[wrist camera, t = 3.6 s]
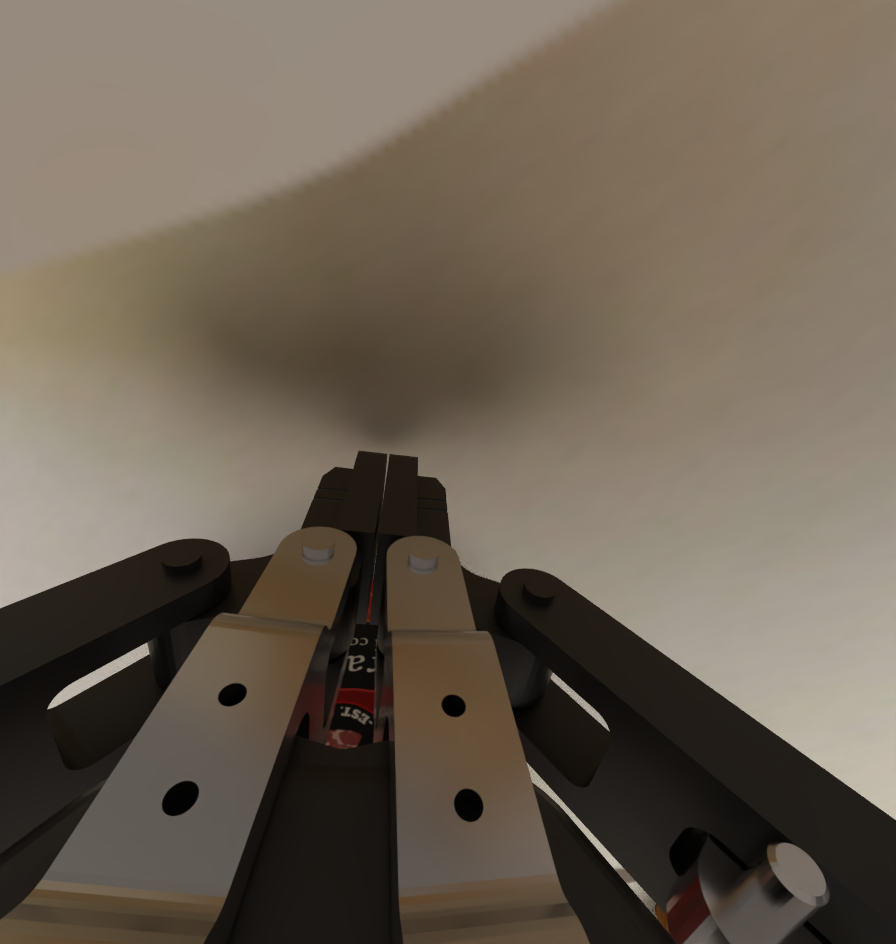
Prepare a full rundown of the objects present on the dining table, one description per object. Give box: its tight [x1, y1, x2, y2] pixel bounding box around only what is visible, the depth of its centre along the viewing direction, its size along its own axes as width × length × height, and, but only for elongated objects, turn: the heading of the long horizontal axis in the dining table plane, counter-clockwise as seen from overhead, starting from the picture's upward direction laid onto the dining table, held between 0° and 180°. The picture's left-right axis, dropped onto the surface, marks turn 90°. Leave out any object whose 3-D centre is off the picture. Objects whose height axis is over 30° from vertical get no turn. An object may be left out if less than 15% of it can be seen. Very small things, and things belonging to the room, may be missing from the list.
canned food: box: [325, 582, 379, 749], centre depth 14 cm, size 8×8×11 cm
